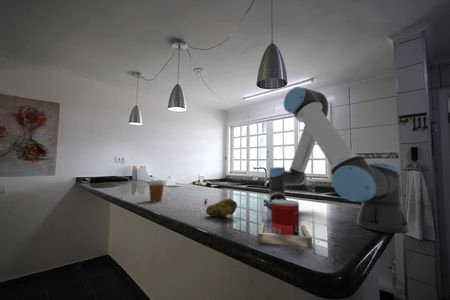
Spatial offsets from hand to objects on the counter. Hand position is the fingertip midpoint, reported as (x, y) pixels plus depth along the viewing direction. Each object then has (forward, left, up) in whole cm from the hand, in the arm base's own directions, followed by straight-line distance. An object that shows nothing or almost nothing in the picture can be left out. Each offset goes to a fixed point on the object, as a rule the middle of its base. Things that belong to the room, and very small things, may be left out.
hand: (280, 211), depth 72 cm
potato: (+24, -11, -6) cm, 27 cm away
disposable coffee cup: (+72, -39, -6) cm, 82 cm away
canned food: (-1, +9, -6) cm, 11 cm away
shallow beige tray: (0, +8, -6) cm, 10 cm away
